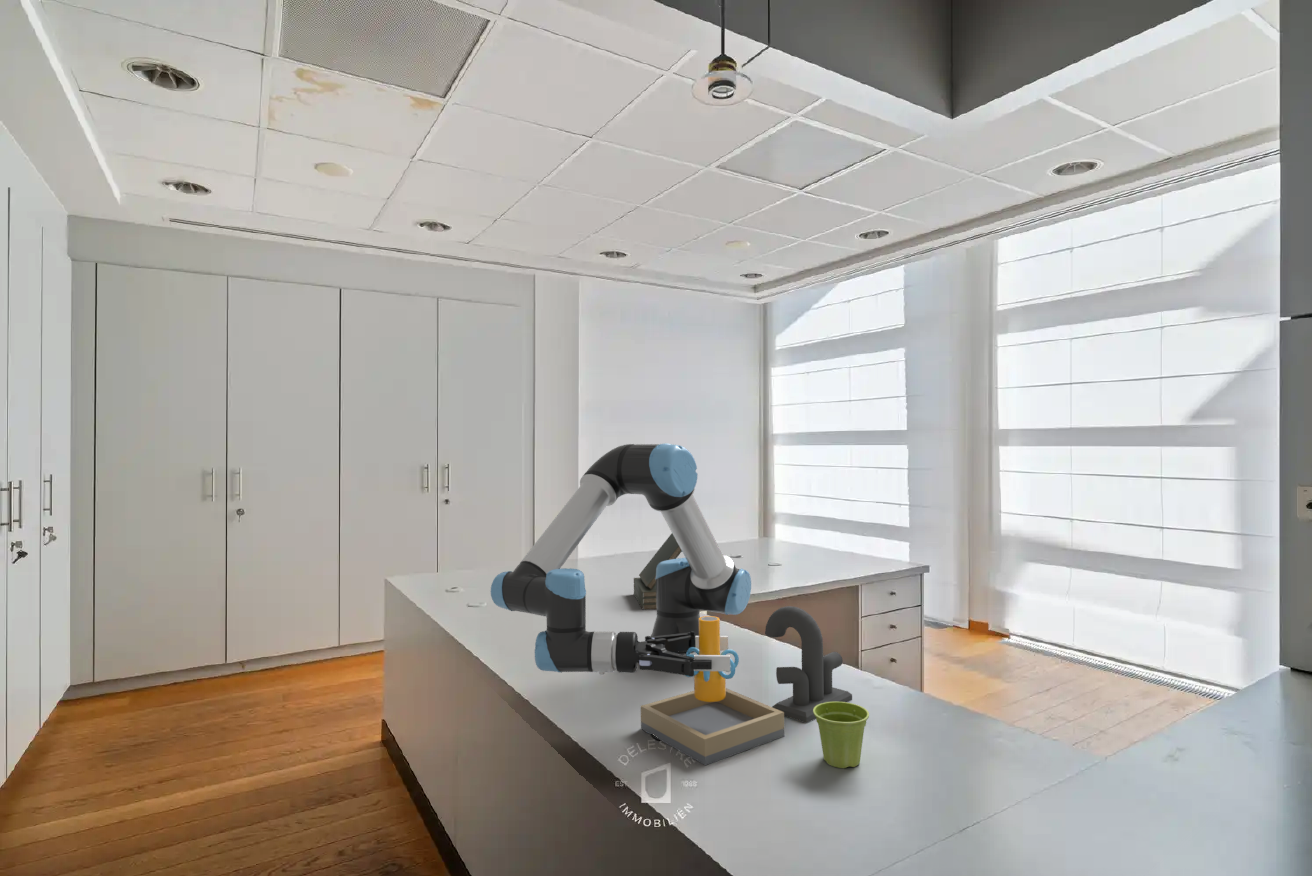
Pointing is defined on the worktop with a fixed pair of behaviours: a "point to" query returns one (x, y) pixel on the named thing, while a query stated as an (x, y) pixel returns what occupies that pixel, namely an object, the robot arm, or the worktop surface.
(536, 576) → the robot arm
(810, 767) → the worktop surface
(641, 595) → the grey slanted block structure
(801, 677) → the faucet
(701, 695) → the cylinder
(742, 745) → the tan and grey tray
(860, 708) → the plant pot
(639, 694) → the worktop surface
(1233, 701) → the worktop surface
